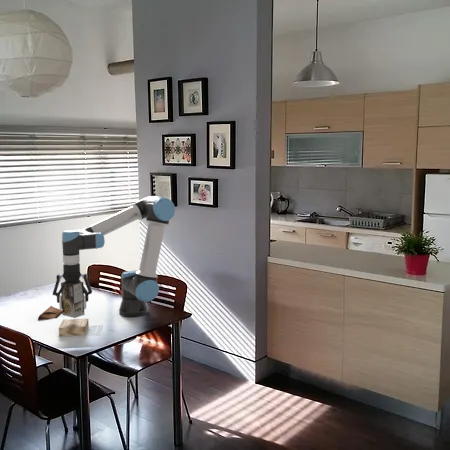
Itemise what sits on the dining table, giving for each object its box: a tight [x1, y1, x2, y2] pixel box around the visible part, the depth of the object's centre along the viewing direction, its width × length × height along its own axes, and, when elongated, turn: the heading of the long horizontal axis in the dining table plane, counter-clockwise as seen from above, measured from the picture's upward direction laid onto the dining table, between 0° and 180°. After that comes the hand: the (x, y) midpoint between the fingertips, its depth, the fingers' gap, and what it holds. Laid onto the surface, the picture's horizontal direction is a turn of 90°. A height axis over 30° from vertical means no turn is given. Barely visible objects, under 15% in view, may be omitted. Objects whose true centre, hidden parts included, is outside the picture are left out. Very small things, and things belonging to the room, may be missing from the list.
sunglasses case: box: [37, 305, 62, 321], centre depth 266 cm, size 18×7×7 cm, turn 1°
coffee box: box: [60, 281, 85, 319], centre depth 239 cm, size 9×6×16 cm
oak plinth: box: [58, 318, 90, 337], centre depth 241 cm, size 12×12×4 cm
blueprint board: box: [56, 324, 104, 338], centre depth 241 cm, size 20×14×1 cm
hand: (73, 308), depth 239 cm, fingers closed on coffee box, 10 cm apart
